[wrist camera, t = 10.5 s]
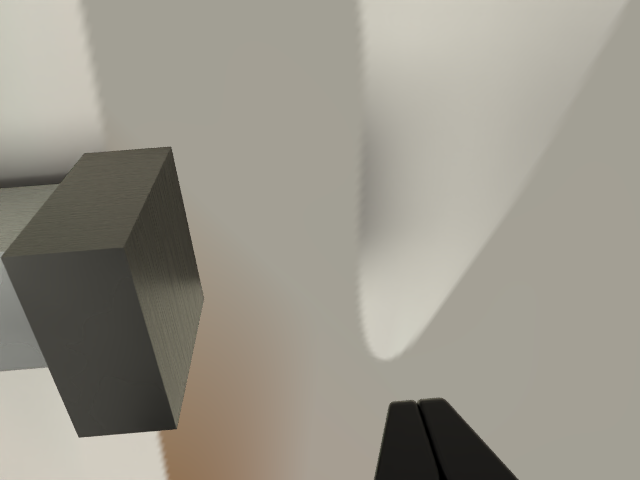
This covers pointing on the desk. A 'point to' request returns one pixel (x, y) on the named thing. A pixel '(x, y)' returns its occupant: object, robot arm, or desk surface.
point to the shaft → (103, 289)
